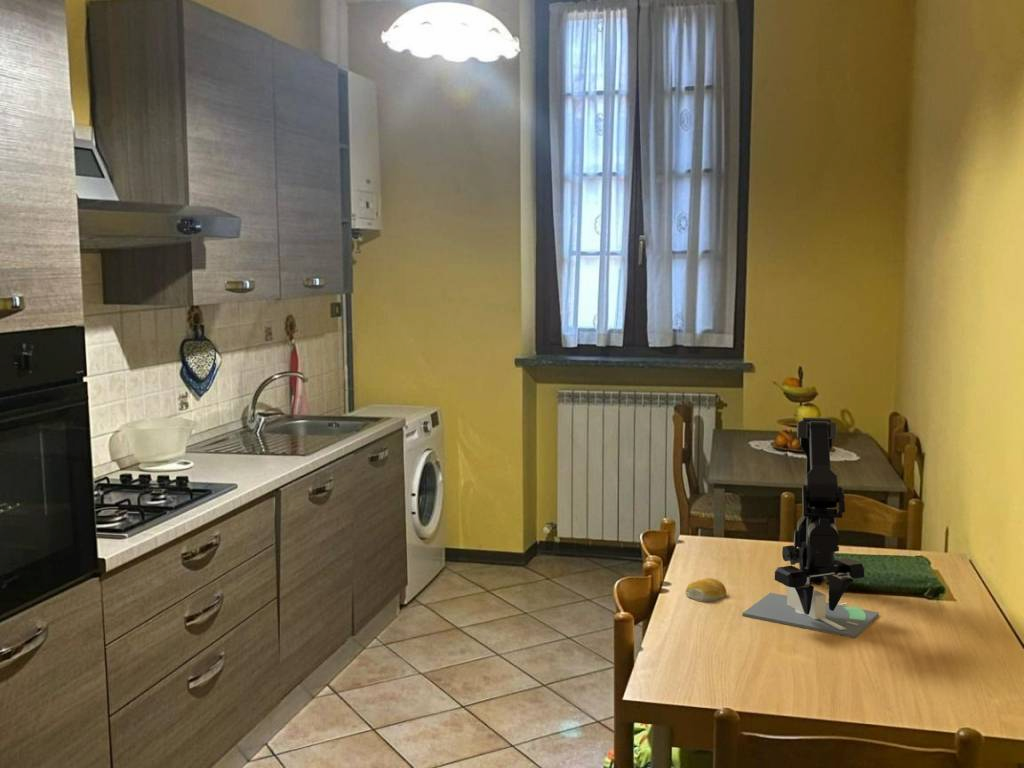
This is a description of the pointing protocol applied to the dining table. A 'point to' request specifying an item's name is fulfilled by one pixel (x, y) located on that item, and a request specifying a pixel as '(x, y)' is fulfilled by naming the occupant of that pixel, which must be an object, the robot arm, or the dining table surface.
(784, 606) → the grey board
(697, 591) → the bread roll
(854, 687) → the dining table surface
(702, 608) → the dining table surface
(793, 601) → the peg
